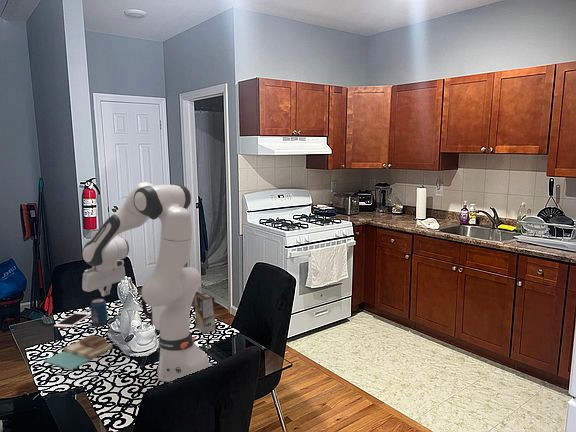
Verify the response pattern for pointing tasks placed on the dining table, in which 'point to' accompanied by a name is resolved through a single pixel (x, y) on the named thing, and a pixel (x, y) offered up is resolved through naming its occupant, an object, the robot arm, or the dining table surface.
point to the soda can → (98, 312)
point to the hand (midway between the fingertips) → (105, 295)
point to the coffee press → (153, 313)
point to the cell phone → (73, 319)
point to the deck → (87, 350)
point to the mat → (66, 360)
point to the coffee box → (205, 312)
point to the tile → (92, 341)
